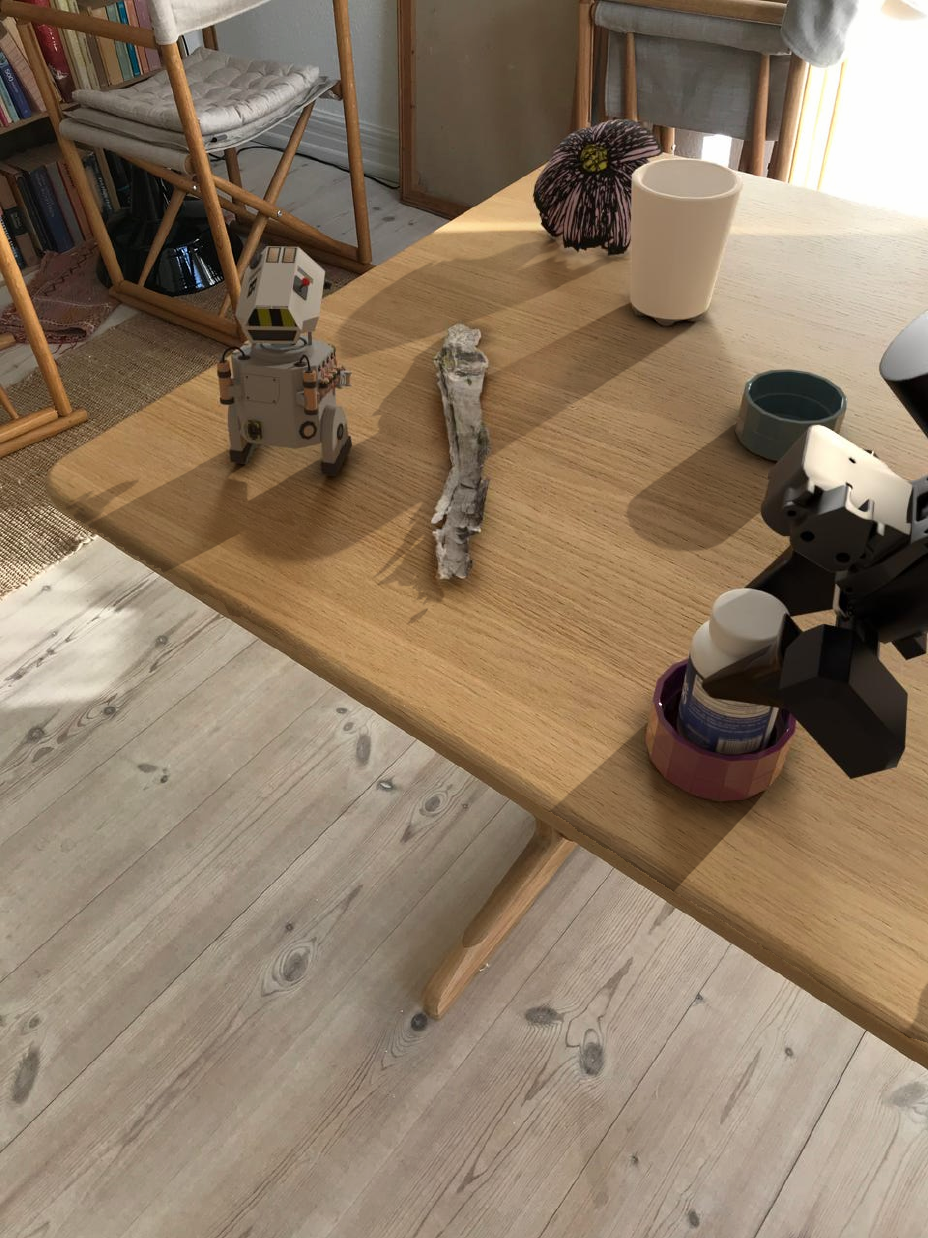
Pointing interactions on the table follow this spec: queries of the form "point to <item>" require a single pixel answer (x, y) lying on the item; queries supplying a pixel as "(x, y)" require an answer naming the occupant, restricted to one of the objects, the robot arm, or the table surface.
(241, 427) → the figurine
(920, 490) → the robot arm
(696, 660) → the pill bottle
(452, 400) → the driftwood
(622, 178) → the decorative flower
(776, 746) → the plum bowl
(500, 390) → the table surface
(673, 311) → the cup
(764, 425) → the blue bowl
